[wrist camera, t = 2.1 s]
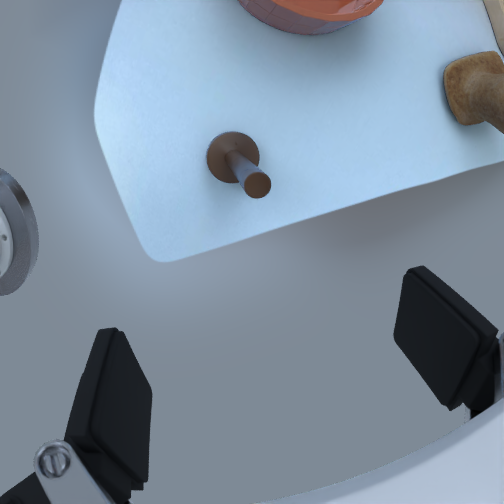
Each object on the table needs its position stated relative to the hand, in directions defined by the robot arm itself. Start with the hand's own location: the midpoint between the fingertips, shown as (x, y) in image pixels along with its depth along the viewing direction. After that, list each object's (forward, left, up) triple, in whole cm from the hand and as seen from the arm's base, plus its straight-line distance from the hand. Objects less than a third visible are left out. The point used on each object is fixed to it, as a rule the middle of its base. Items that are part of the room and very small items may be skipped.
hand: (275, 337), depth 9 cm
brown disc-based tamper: (+1, +3, -24) cm, 25 cm away
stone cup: (+35, +17, -25) cm, 46 cm away
